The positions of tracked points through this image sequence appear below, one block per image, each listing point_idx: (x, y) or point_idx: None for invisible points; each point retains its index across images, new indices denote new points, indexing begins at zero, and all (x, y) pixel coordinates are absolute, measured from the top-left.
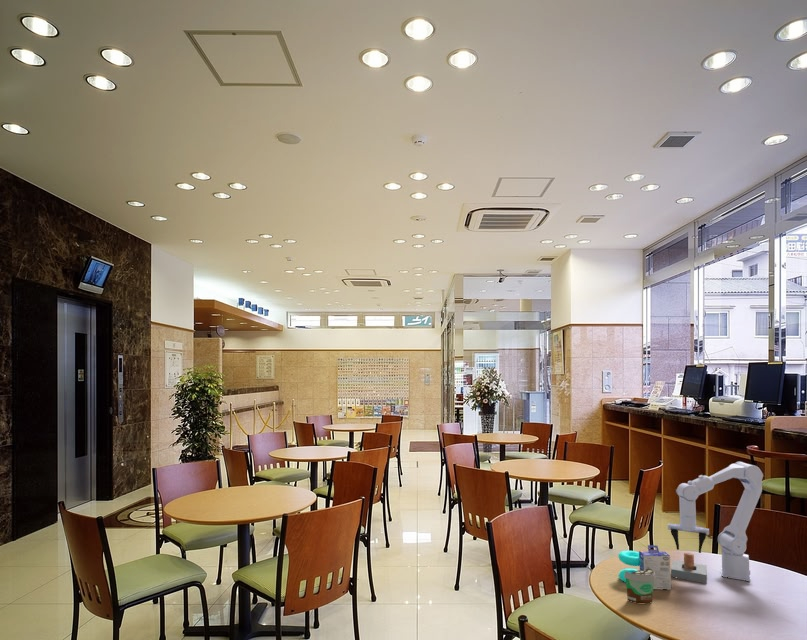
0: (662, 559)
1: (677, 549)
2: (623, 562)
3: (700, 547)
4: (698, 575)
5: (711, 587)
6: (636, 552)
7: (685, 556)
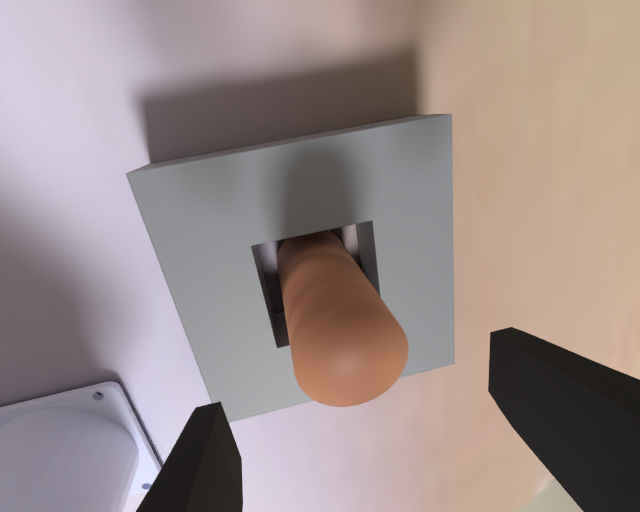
0: None
1: (508, 330)
2: None
3: (163, 485)
4: (206, 156)
5: (75, 73)
6: None
7: (377, 302)
